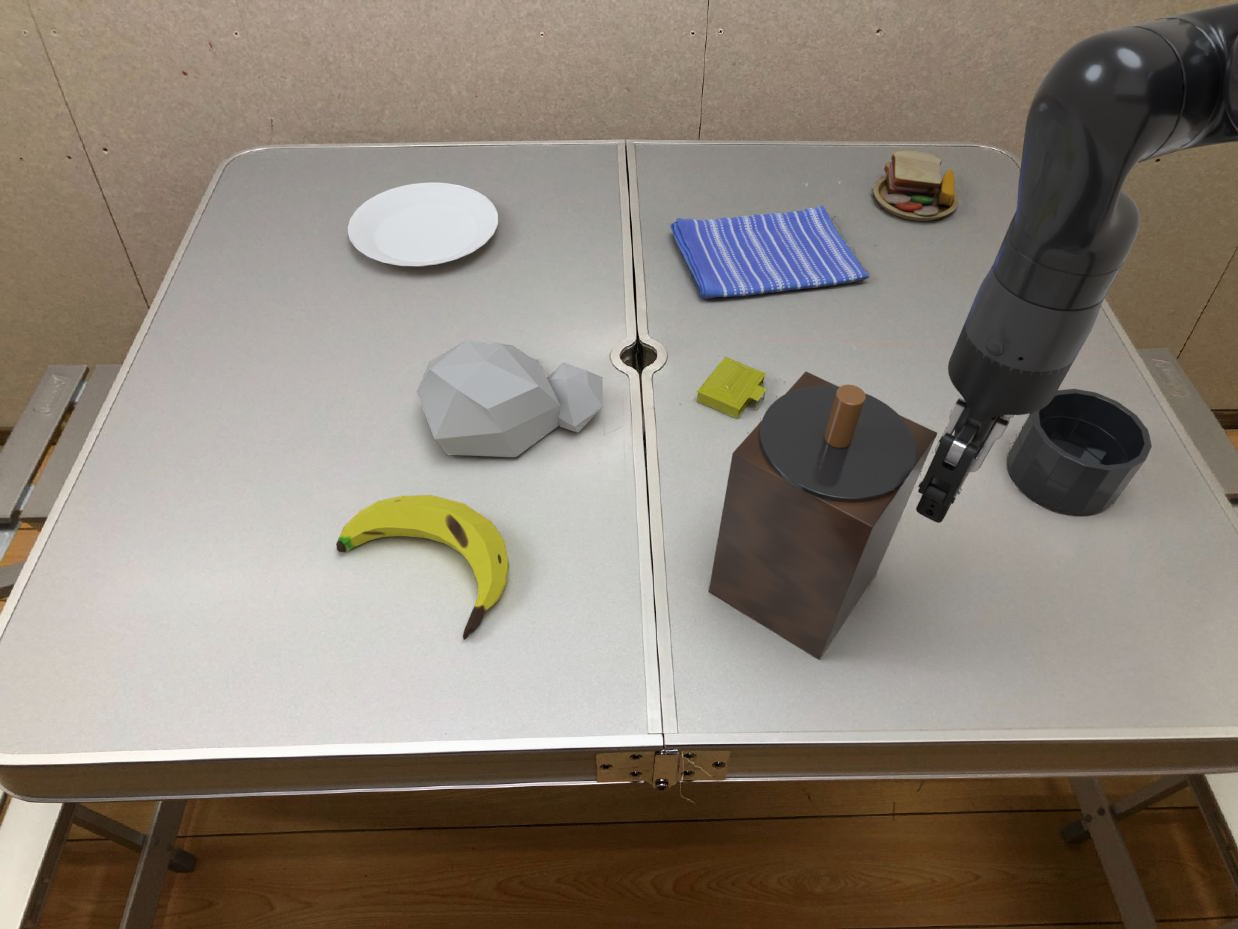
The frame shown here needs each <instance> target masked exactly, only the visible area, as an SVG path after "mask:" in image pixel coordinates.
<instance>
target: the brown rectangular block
mask: <svg viewBox="0 0 1238 929" xmlns="http://www.w3.org/2000/svg"><path fill="white" fill-rule="evenodd" d="M820 385H828V386H837V385H836V384H834V383H832V382H830V381H828V380H825V379H823V378H821V377H819V376H817V375H815V374H813V373H810V372H808V371H804V372H803V374H802V375H801V376H800V377H799V378H798V379H797V380H796V381H795V382H794V384H793V385H792V386H790V388H789V389H788V391H786V393H785V394H787V393H789V392H791V391H794V390H796V389H800V388H804V387H810V386H820ZM899 415H900V416H901V417H902V419H903V420H904V421H905V422H906V424H907V425H908V427H909V428H910V430H911V432H912V434H913V437H914V439H915V443H916V451H917V455H916V462H915V465H914V468H913V470H912V472H911V474H910V476H909V478H908V479H907V480H906V481H905V483H904V484H903V485H901V486H900V487H899V488H898V489H897V490H895V491H893V492H892V493H890V494H888V495H886V496H883V497H881V498H878V499H874V500H870V501H864V502H839V501H832V500H827V499H823V498H819V497H816V496H814V495H811V494H808V493H806V492H804V491H802V490H800V489H798V488H796V487H795V486H793V485H791V484H790V483H788V482H787V481H786V480H784V479H783V478H782V477H781V476H780V475H779V474H778V473H777V472H776V471H775V470H774V469H773V468H772V467H771V465H770V464H769V462H768V461H767V459H766V458H765V456H764V453H763V451H762V448H761V444H760V436H759V434H760V426H761V422H762V420H760V422H759V423H758V424H757V425H756V426H755V427H754V429H753V430H752V431H750V433H748V435H747V436H746V437H745V439H744V440H743V441H742V442H741V443H740V444H739V445H738V446H737V447H736V448H735V449H734V451H733V452H732V453H731V454H732V455H731V459H730V466H729V471H728V477H727V483H726V489H725V494H724V500H723V507H722V512H721V518H720V524H719V530H718V535H717V541H716V546H715V553H714V558H713V564H712V570H711V575H710V580H709V581H710V582H709V588H708V593H709V594H711V595H713V596H714V597H716V598H718V599H719V600H721V601H722V602H724V603H726V604H728V605H729V606H731V607H732V608H734V609H735V610H737V611H739V612H740V613H742V614H744V615H745V616H747V617H748V618H750V619H752V620H753V621H755V622H757V623H758V624H759V625H762V626H763V627H764V628H766V629H768V630H770V631H772V632H773V633H775V634H776V635H778V636H780V637H781V638H783V639H785V640H786V641H788V642H789V643H790V644H792V645H794V646H796V647H797V648H799V649H800V650H802V651H804V652H806V653H807V654H809V655H810V656H812V657H814V659H815V658H816V659H817V660H821V659H822V657H823V656H824V654H825V653H826V652H827V650H828V649H829V647H830V645H831V643H832V642H833V640H834V639H835V638H836V636H837V635H838V633H839V632H840V629H841V628H842V627H843V625H844V624H845V622H846V621H847V619H848V617H849V616H850V615H851V613H852V611H853V610H854V608H855V607H856V605H858V604H857V603H858V602H859V601H860V600H861V598H862V596H863V595H864V593H865V592H866V590H867V588H868V587H869V585H870V584H871V582H872V581H873V580H874V578H875V576H876V574H877V572H878V571H879V569H880V566H881V564H882V561H883V560H884V557H885V555H886V553H887V550H888V548H889V545H890V543H891V542H892V539H893V537H894V534H895V532H896V530H897V527H898V525H899V523H900V520H901V519H902V516H903V513H904V511H905V509H906V507H907V504H908V503H909V500H910V497H911V495H912V493H913V491H914V488H915V487H916V484H917V482H918V479H919V477H920V475H921V472H922V470H923V468H924V465H925V463H926V461H927V459H928V456H929V454H930V451H931V449H932V447H933V445H934V442H935V440H936V438H937V436H938V432H936V431H935V430H933V429H930V428H928V427H926V426H924V425H921V423H918V422H916V421H913V420H911V419H909V418H907V417H905V416H902V415H901V414H899Z"/></svg>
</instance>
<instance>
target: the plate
mask: <svg viewBox="0 0 1238 929" xmlns="http://www.w3.org/2000/svg"><path fill="white" fill-rule="evenodd" d="M353 212H354V213H353V214H352V216H351V217H350V218H349V221H348V226H347V233H348V237H349V241H350V242H351V244H352V245H353V246H354V247H355V249H356V250H357V251H359V252H360V253H361V254H363V255H364V256H366V257H367V258H370V259H372V260H375V261H377V262H380V263H383V264H388V265H394V266H399V267H428V266H433V265H435V266H436V265H441V264H445V263H448V262H452V261H456V260H459V259H461V258H464V257H466V256H468V255H470V254H473V253H474V252H476V251H477V250H479V249H480V248H481V247H483V246H484V245H486V244H487V243H488V241H489V240H490V239H491V238H492V237H493V236H494V235H495V232H496V230H497V228H498V225H499V213H498V210H497V208H496V206H495V204H494V203H493V202H492V201H491V200H490V199H489V198H488V197H487V196H486V195H484V194H483V193H481V192H479V191H477V190H476V189H473V188H470V187H466V186H463V185H460V184H454V183H448V182H430V181H429V182H417V183H409V184H404V185H401V186H397V187H393V188H390V189H388V190H385V191H382V192H380V193H377V194H376V195H374V196H372V197H370V198H369V199H367V200H366V201H364V202H363V203H362V204H361V205H360V206H359V207H357V208H356V209H355V211H353Z"/></svg>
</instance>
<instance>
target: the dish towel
mask: <svg viewBox="0 0 1238 929" xmlns="http://www.w3.org/2000/svg"><path fill="white" fill-rule="evenodd" d="M670 229H671V232H672V235H673V237H674V239H675V243H676V245H677V246H678V248H679V250H680V252H681V255H682V257H683V259H684V262H685V263H686V265H687V268H688V270H689V272H690V275H691V277H692V280H693V281H694V284H695V286H696V289H697V291H698V294H699V296H700V297H701V298H703V299H705V300H706V299H714V298H727V297H729V298H731V297H732V298H733V297H746V296H747V297H748V296H753V295H754V296H755V295H763V294H768V293H780V292H787V291H795V290H796V291H797V290H803V289H815V288H816V289H817V288H820V287H828V286H829V287H830V286H837V285H843V284H850V283H855V282H858V281H862V280H866V279H869V278H870V275H869V273H868V272H867V271H866V270H865V269H864V267H863V266H862V264H861V263H860V261H859V260H858V258H857V257H856V255H855V254H854V253H853V252H852V250H851V248H850V247H849V245H848V244H847V242H846V241H845V239H844V238H843V237H842V235H841V234H840V233H839V231H838V229H837V228H836V226H835V224H834V222H833V220H832V219H831V217H830V215H829V213H828V212H827V209H826V207H825V206H824V205H819V206H814V207H807V208H804V209H801V210H797V211H796V210H793V211H788V212H773V213H765V214H751V215H739V216H734V217H728V216H726V217H721V218H707V219H696V218H680V217H677V218H676V219H675V221H673V222H671V223H670Z"/></svg>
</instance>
